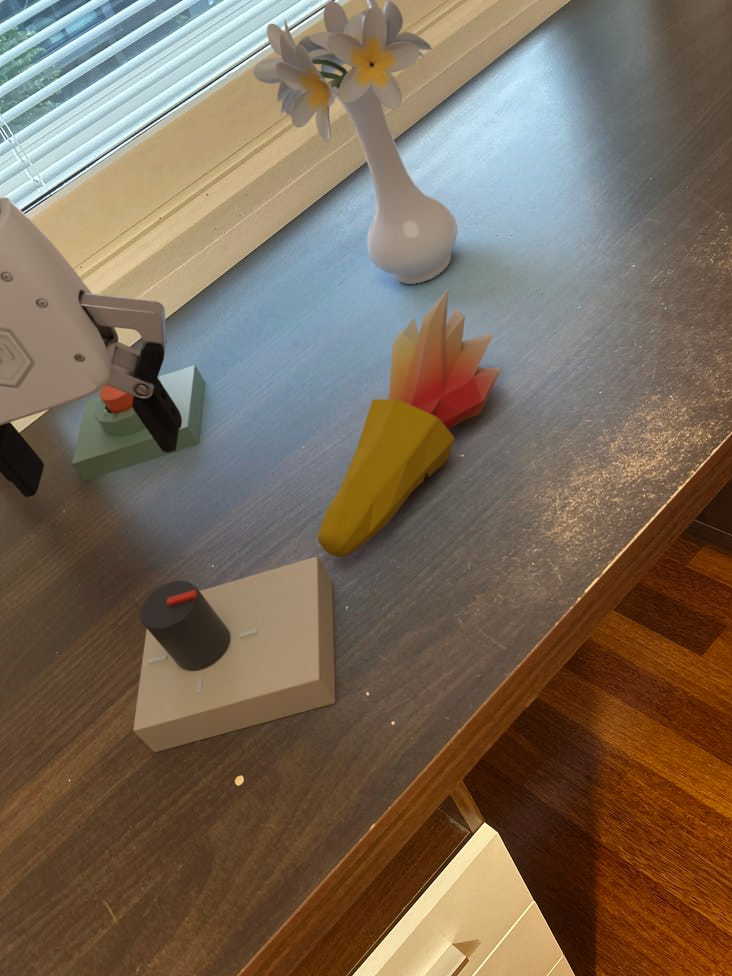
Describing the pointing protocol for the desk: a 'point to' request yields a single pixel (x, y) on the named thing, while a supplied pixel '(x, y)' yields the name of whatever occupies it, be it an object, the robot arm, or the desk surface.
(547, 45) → the desk surface
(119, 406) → the button
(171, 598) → the knob
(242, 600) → the panel
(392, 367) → the torch
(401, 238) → the flower vase
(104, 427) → the button box
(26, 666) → the desk surface
